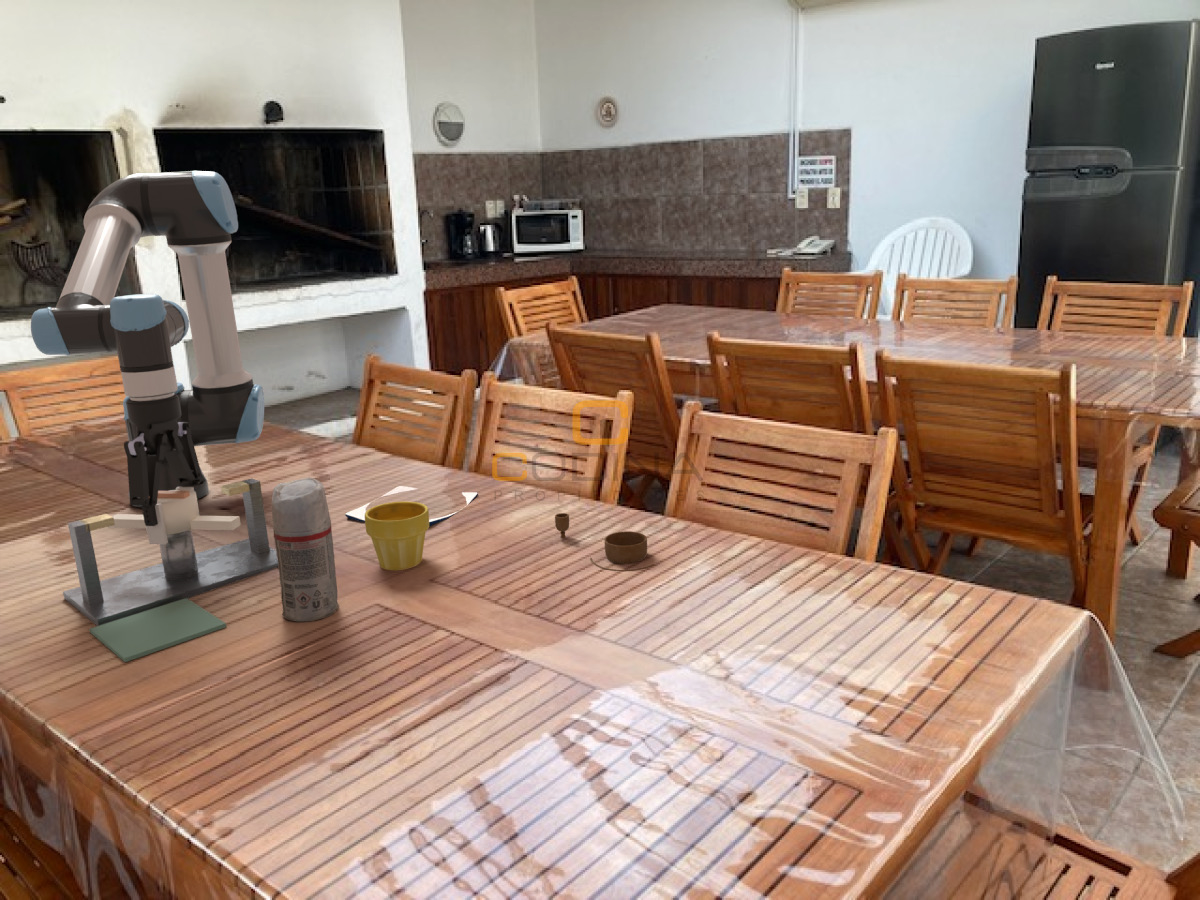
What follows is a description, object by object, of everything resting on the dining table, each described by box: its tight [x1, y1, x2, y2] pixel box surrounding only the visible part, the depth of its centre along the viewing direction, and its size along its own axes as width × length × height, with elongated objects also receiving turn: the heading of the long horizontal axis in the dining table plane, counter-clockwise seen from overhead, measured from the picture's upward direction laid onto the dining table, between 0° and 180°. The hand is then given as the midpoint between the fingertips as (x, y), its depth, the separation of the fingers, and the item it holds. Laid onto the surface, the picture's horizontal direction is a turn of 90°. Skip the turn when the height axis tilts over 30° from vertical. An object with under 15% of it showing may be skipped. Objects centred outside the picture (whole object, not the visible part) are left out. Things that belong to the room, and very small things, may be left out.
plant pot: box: [364, 500, 430, 571], centre depth 155 cm, size 10×10×10 cm
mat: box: [89, 598, 227, 663], centre depth 135 cm, size 14×14×1 cm
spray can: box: [271, 476, 340, 622], centre depth 137 cm, size 8×8×20 cm
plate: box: [344, 485, 479, 527], centre depth 182 cm, size 20×20×3 cm
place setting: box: [554, 512, 654, 572], centre depth 156 cm, size 18×20×6 cm
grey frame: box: [62, 478, 278, 627], centre depth 152 cm, size 31×16×14 cm, turn 135°
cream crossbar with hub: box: [107, 489, 242, 535], centre depth 150 cm, size 22×8×6 cm, turn 80°
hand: (175, 533), depth 151 cm, fingers closed on cream crossbar with hub, 8 cm apart
